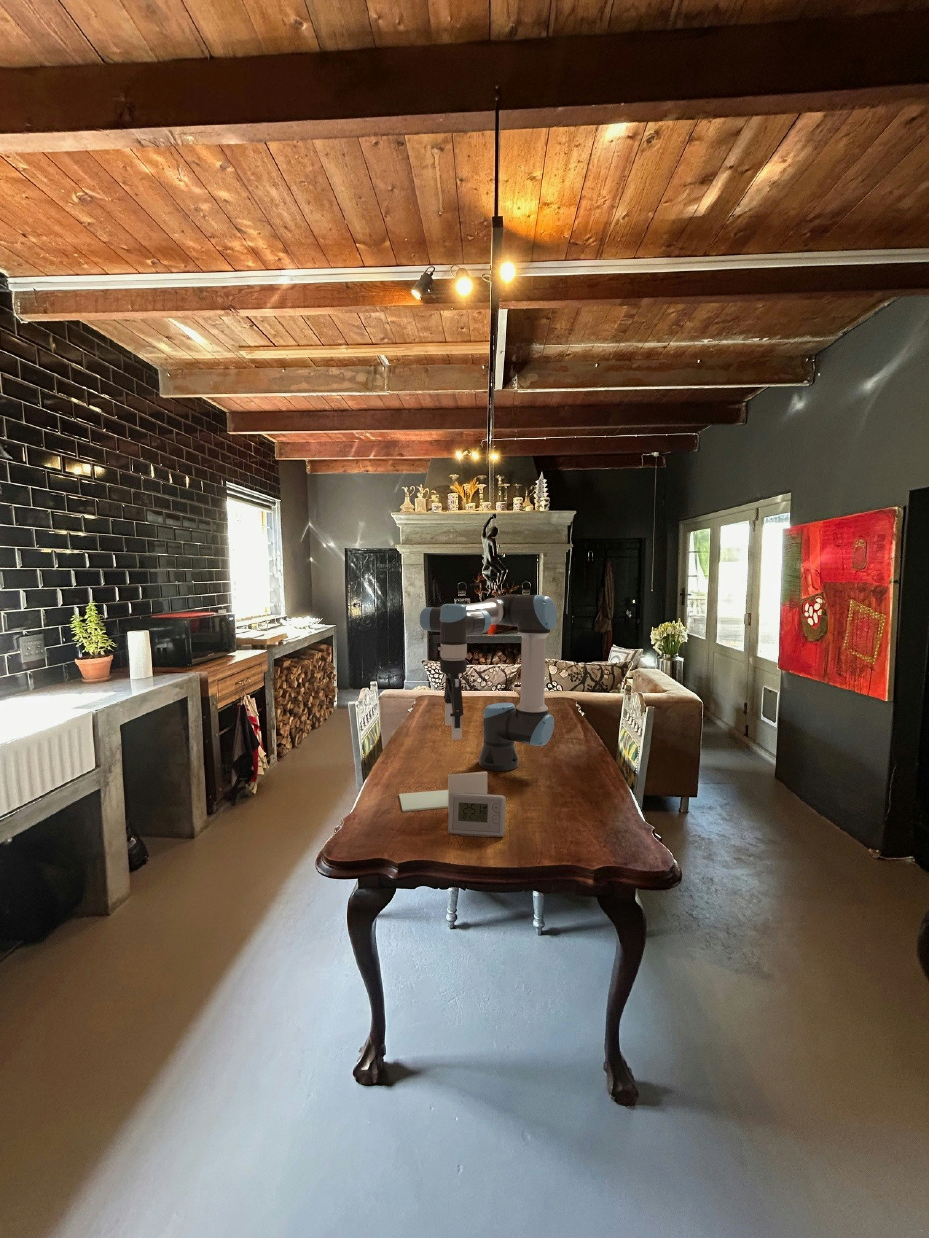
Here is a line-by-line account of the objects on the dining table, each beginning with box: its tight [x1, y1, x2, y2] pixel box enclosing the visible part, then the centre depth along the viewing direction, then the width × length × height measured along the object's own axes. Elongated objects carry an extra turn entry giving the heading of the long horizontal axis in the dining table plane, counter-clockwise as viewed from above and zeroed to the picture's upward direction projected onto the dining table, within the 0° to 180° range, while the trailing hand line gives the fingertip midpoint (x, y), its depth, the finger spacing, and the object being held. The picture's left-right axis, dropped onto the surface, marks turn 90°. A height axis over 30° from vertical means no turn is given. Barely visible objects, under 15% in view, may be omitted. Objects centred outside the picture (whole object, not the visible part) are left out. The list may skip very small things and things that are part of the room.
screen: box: [447, 771, 488, 815], centre depth 163 cm, size 12×4×12 cm, turn 102°
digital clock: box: [447, 793, 507, 838], centre depth 150 cm, size 16×9×11 cm, turn 72°
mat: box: [398, 789, 448, 812], centre depth 171 cm, size 19×12×1 cm, turn 102°
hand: (452, 731), depth 154 cm, fingers open, 13 cm apart
